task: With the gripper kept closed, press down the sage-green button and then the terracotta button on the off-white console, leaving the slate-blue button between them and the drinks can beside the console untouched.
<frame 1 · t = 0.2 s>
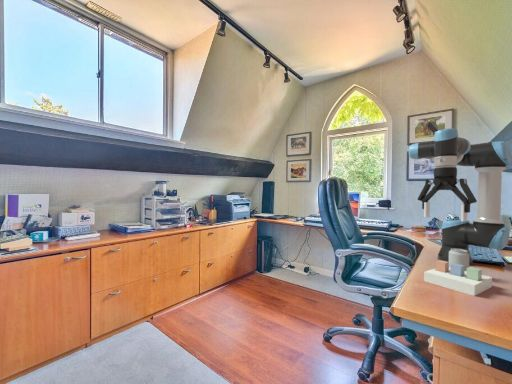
hand: (444, 219, 99), 28 cm above the table, fingers open, 13 cm apart
slate button: (457, 270, 102), point 5 cm above the table, slide at 0.0 cm
console: (457, 283, 102), on the table
sage button: (474, 274, 97), point 6 cm above the table, slide at 0.0 cm
can: (458, 275, 113), on the table
terracotta button: (442, 267, 107), point 5 cm above the table, slide at 0.0 cm
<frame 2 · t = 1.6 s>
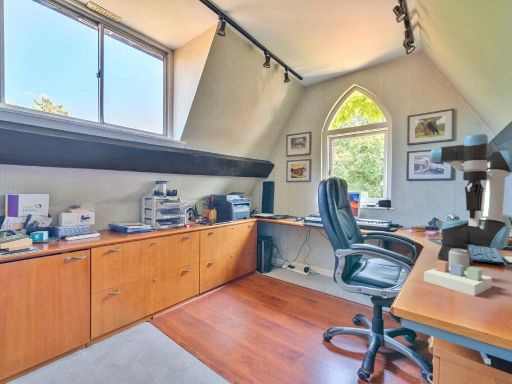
hand: (473, 225, 104), 24 cm above the table, fingers closed
nothing on the table moved.
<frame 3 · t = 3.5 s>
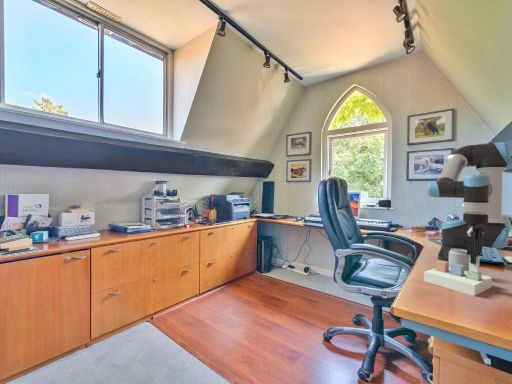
hand: (474, 271, 97), 7 cm above the table, fingers closed
sage button: (474, 278, 97), point 4 cm above the table, slide at 1.4 cm, touching gripper
everything else where it was.
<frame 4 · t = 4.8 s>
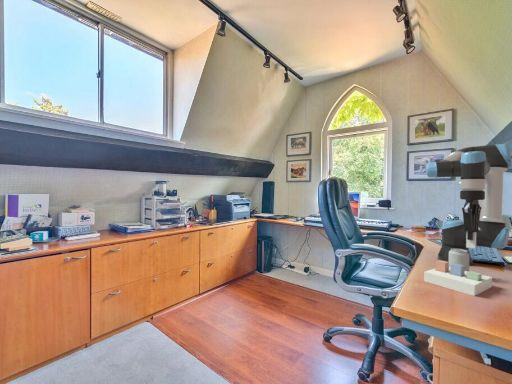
hand: (471, 247, 98), 16 cm above the table, fingers closed
sage button: (473, 279, 97), point 4 cm above the table, slide at 1.8 cm
everything else where it was.
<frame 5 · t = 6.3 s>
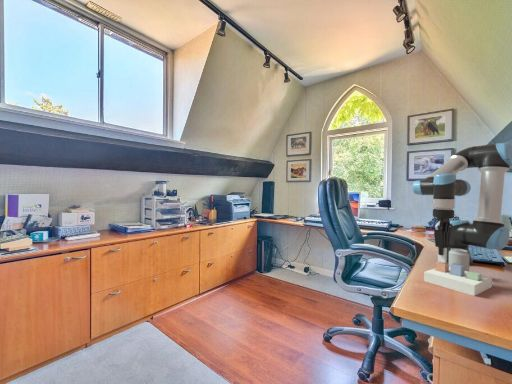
hand: (442, 262, 107), 8 cm above the table, fingers closed
terracotta button: (442, 268, 107), point 5 cm above the table, slide at 0.5 cm, touching gripper
everything else where it was.
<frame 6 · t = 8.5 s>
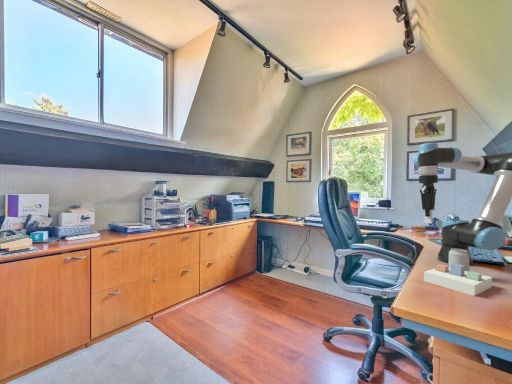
hand: (428, 223, 119), 23 cm above the table, fingers closed
terracotta button: (442, 271, 107), point 4 cm above the table, slide at 1.8 cm
everything else where it was.
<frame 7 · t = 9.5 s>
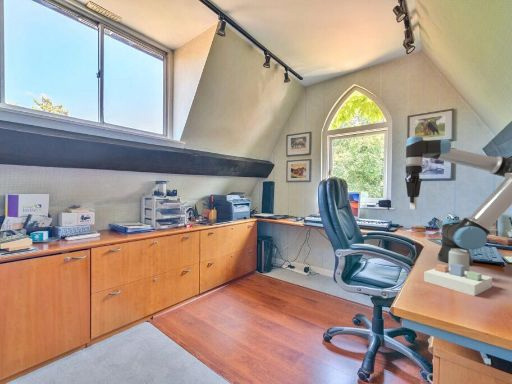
hand: (413, 208, 131), 29 cm above the table, fingers closed
nothing on the table moved.
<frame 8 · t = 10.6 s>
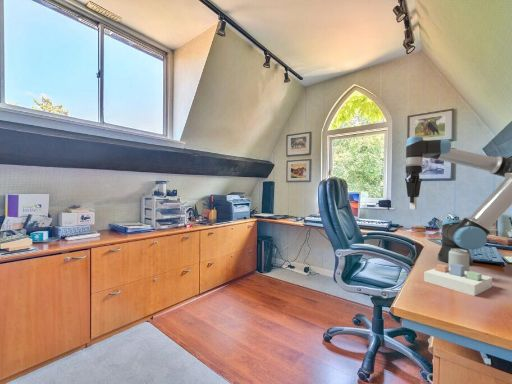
hand: (413, 208, 131), 29 cm above the table, fingers closed
nothing on the table moved.
at the end: sage button slide at 1.8 cm; terracotta button slide at 1.8 cm; slate button slide at 0.0 cm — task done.
